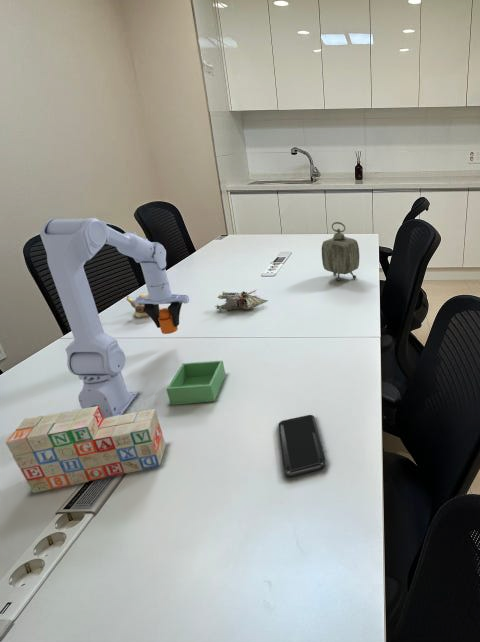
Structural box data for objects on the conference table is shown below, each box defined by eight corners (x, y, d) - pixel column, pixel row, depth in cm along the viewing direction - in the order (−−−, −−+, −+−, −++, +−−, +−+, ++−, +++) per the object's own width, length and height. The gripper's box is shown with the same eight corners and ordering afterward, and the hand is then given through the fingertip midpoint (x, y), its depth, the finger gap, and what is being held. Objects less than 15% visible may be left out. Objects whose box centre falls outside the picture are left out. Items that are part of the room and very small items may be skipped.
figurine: (235, 283, 153) (274, 286, 150) (237, 297, 155) (276, 300, 152) (205, 300, 135) (249, 303, 132) (207, 316, 137) (251, 319, 134)
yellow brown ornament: (160, 317, 138) (154, 295, 135) (128, 322, 135) (122, 300, 132) (162, 304, 148) (157, 284, 145) (133, 309, 145) (127, 288, 142)
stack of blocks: (166, 444, 80) (152, 396, 75) (160, 467, 75) (143, 416, 70) (47, 467, 75) (23, 417, 70) (31, 494, 70) (3, 441, 65)
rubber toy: (174, 333, 115) (168, 311, 112) (159, 334, 115) (153, 312, 112) (179, 326, 119) (174, 305, 116) (165, 327, 119) (159, 306, 116)
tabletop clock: (360, 278, 170) (358, 221, 160) (348, 284, 163) (345, 226, 153) (334, 273, 178) (330, 218, 167) (321, 279, 171) (317, 222, 160)
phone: (284, 474, 71) (278, 421, 84) (285, 478, 72) (278, 425, 85) (326, 463, 73) (314, 413, 86) (327, 468, 74) (314, 417, 87)
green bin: (214, 401, 93) (210, 385, 91) (170, 404, 92) (166, 389, 91) (225, 375, 103) (222, 360, 102) (186, 378, 103) (182, 363, 101)
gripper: (188, 277, 115) (197, 318, 120) (137, 280, 114) (149, 321, 119) (180, 285, 109) (190, 328, 114) (126, 288, 107) (138, 332, 113)
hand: (168, 325), depth 116 cm, fingers closed on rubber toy, 4 cm apart
